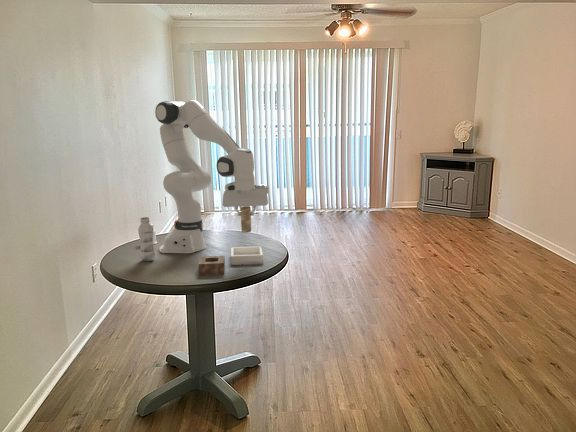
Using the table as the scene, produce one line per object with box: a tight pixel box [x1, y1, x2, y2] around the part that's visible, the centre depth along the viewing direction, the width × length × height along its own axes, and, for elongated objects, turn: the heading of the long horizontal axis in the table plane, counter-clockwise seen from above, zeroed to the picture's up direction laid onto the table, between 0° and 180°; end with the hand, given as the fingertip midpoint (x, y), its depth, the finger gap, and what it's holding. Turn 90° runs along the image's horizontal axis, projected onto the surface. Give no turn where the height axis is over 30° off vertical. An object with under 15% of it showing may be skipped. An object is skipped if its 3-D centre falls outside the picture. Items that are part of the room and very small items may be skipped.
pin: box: [240, 206, 252, 233], centre depth 214 cm, size 4×4×11 cm
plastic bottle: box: [137, 216, 156, 262], centre depth 215 cm, size 6×7×20 cm
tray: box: [230, 245, 264, 266], centre depth 218 cm, size 14×14×4 cm
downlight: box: [150, 223, 158, 245], centre depth 245 cm, size 8×7×10 cm
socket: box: [197, 255, 226, 277], centre depth 202 cm, size 10×10×5 cm
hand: (245, 215), depth 213 cm, fingers closed on pin, 4 cm apart
